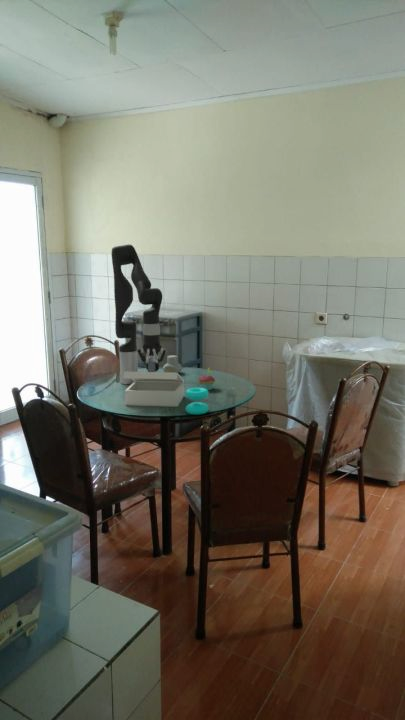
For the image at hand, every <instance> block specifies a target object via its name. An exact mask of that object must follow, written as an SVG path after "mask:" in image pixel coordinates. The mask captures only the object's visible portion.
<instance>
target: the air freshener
mask: <svg viewBox="0 0 405 720" xmlns="http://www.w3.org/2000/svg"><path fill="white" fill-rule="evenodd" d="M178 361H179V360H178V355H174V354H173V355H172V354H171V355H167V356H166V363H165V364H164V365H163V367H162V370H163V372H175V373H178V374H179V373H181V372H182V370H183V367H182V364H181V363H179V362H178Z"/></svg>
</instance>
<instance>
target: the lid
mask: <svg viewBox="0 0 405 720" xmlns="http://www.w3.org/2000/svg"><path fill="white" fill-rule="evenodd" d="M155 363H156V362H155V361H149V362H148V370H147V371H138V372H124V378H128V379H132V380H134V381H143V382H184V383H185V380H184V379H183V377H182V376H181V375H180V374H179V373H175V372H164V371H162V372H161V371H156V367H155Z"/></svg>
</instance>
